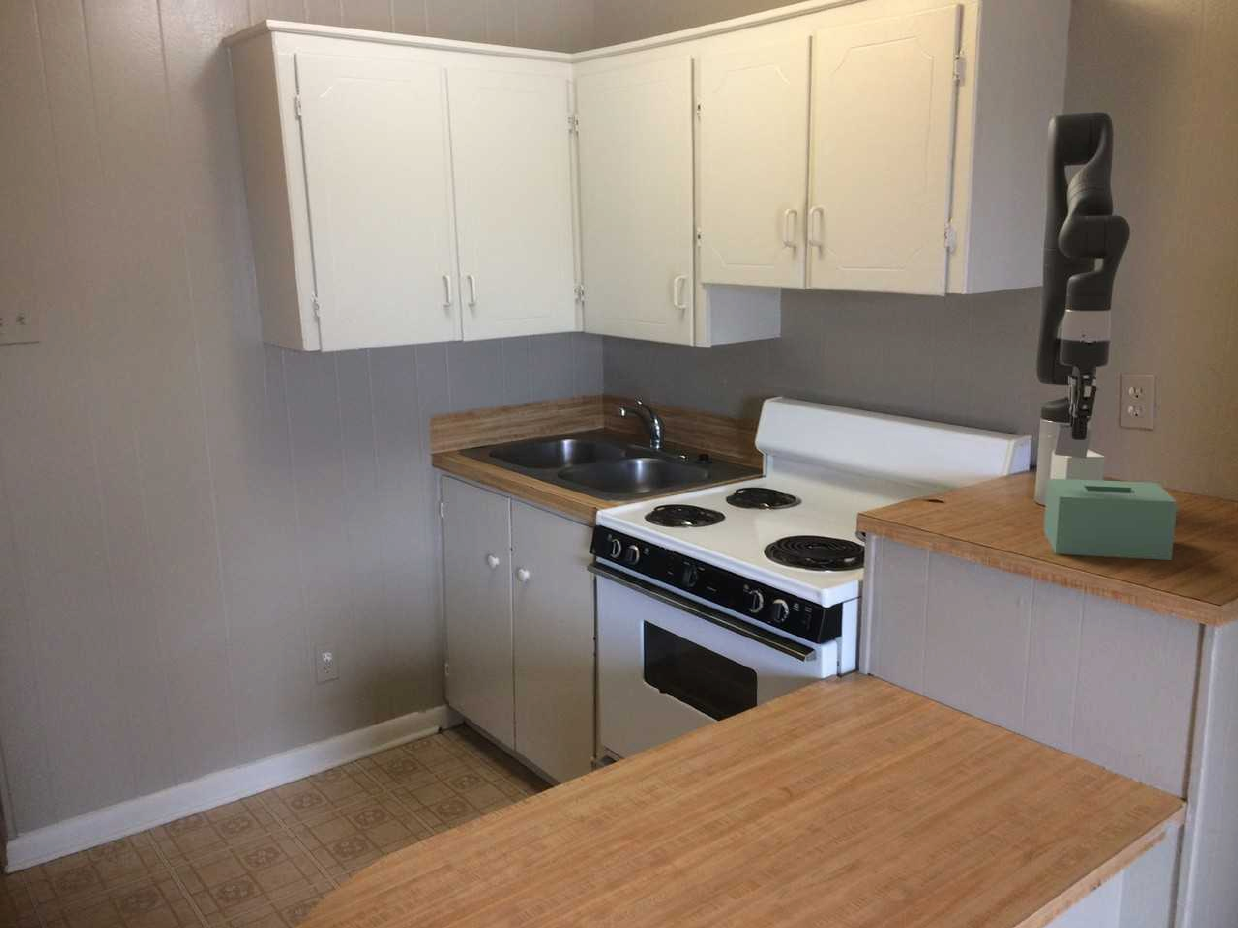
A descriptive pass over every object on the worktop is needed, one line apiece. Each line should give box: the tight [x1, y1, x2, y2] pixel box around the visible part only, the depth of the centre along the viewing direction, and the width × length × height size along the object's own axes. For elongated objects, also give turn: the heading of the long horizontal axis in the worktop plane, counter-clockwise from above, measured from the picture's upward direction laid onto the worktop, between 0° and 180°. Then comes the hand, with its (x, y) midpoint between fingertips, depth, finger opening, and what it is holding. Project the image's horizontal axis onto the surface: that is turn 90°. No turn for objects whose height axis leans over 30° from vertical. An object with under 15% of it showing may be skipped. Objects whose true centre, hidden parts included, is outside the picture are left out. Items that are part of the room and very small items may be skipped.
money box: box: [1043, 479, 1178, 561], centre depth 179 cm, size 14×18×10 cm
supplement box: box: [1050, 449, 1106, 481], centre depth 197 cm, size 7×7×13 cm
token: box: [1053, 424, 1092, 459], centre depth 178 cm, size 2×5×5 cm, turn 74°
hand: (1077, 437), depth 177 cm, fingers closed on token, 2 cm apart
